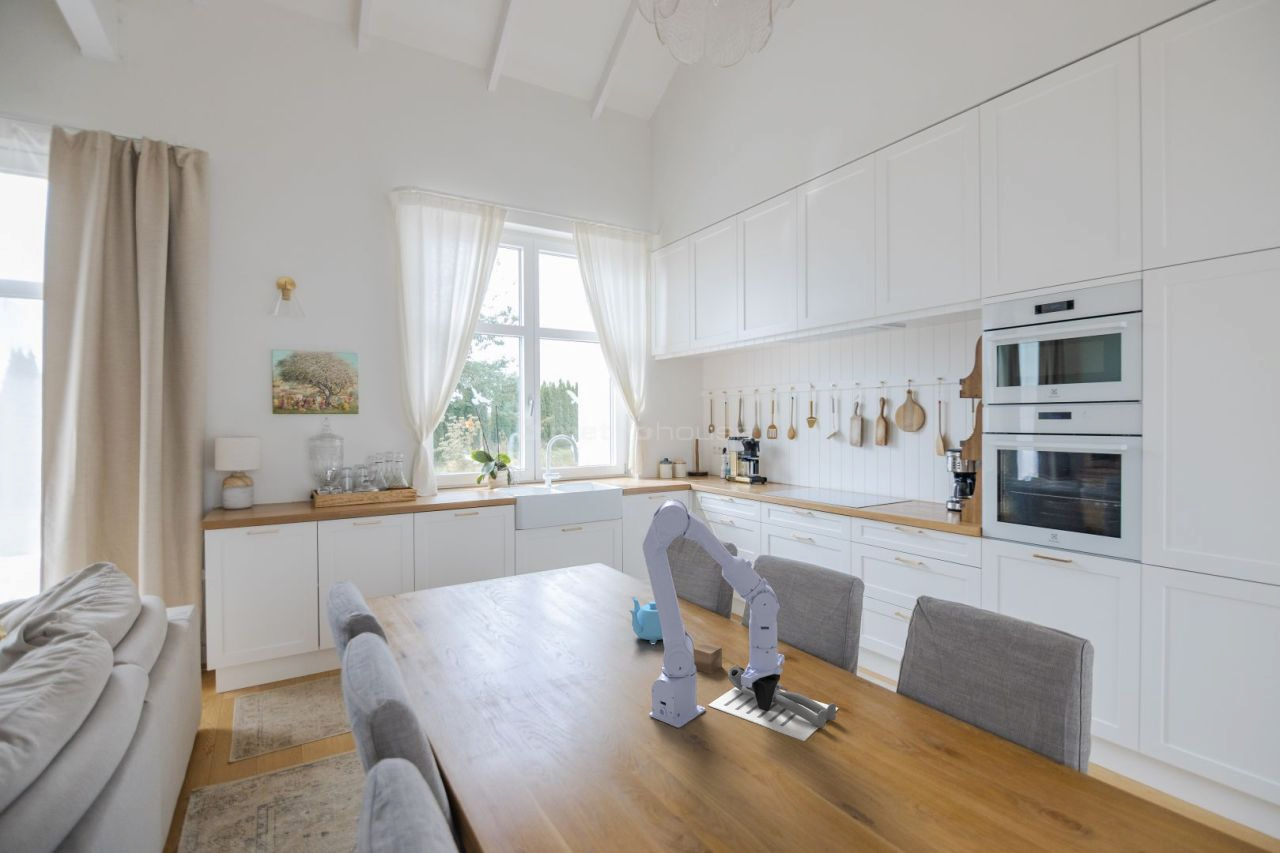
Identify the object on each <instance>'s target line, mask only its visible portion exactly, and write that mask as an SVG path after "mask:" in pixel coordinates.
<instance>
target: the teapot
mask: <svg viewBox="0 0 1280 853" xmlns="http://www.w3.org/2000/svg"><path fill="white" fill-rule="evenodd" d="M631 599H632V601H633V604H634V610H632V609H628V611H629V612H630V615H631V616H632V617H631V626H632V630H633V632H634V634H636V636H637V638H638V637H639V638H642V640H649V644H650V643H656V642H657V643H658V641H659V640H663V635H662V628H661V624H660V620H659V615H658V611H657V607H656V603H655V601H650V602H648V604H644V605H643V606H640V602H639V600H638V599H637V598H636V597H635V596H631Z"/></svg>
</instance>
